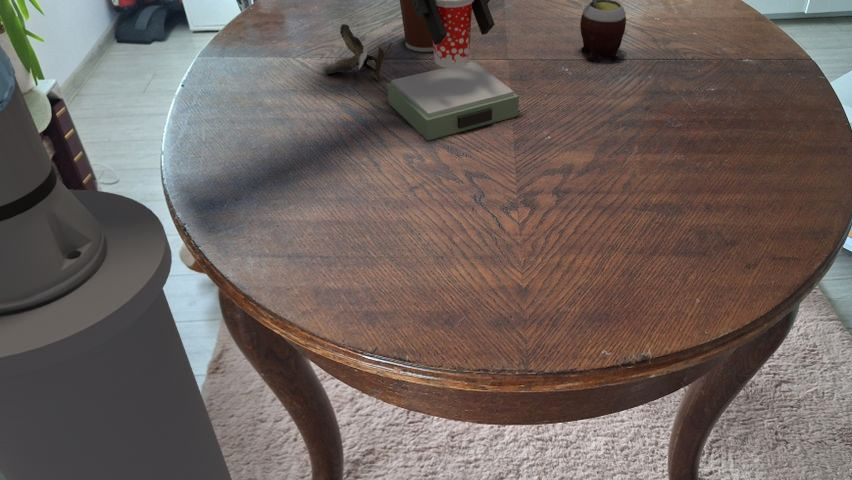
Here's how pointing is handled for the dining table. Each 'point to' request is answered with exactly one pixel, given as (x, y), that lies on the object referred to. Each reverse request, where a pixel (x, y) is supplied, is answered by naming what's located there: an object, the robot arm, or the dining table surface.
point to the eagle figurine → (357, 55)
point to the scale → (452, 100)
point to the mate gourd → (602, 28)
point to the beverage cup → (454, 33)
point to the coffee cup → (415, 29)
